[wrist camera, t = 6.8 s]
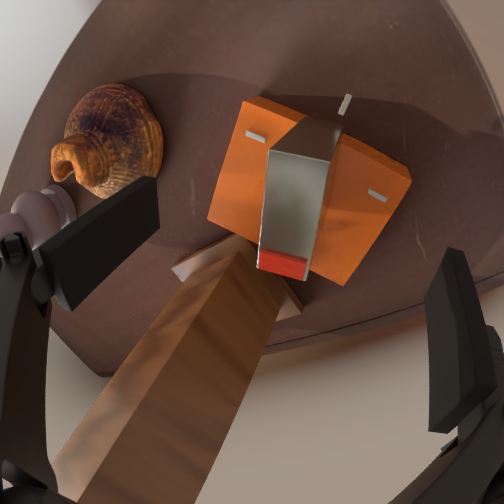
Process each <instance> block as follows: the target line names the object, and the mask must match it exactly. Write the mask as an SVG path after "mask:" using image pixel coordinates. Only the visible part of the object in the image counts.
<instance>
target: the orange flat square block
mask: <svg viewBox="0 0 504 504" xmlns="http://www.w3.org/2000/svg"><path fill="white" fill-rule="evenodd" d="M351 98H352V95H350V94H346V96H345V99H344V101H343V103H342V105H341V107H340V110H339V112H338V113H339V114H341V115H344V113H345V111H346V109H347V107H348V104H349V102H350V100H351ZM304 117H309V116H306V115H304V114H302V113H300V112H297V111H295V110H293V109H290V108H288V107H286V106H283V105H281V104H278V103H276V102H273V101H271V100H268V99H266V98H263V97H261V96H256V97H253V98H250V99H247V100H244V101H243V104H242V107H241V110H240V113H239V116H238V119H237V122H236V126H235V129H234V132H233V135H232V138H231V141H230V144H229V147H228V150H227V154H226V157H225V160H224V163H223V166H222V170H221V173H220V176H219V179H218V183H217V186H216V189H215V193H214V196H213V200H212V203H211V206H210V210H209V213H208V217H207V220H209V221H212V222H214V223H216V224H218V225H220V226H222V227H224V228H226V229H228V230H230V231H232V232H234V233H236V234H238V235H240V236H242V237H244V238H246V239H248V240H250V241H252V242H254V243H257V244H259V238H260V228H261V218H262V208H263V198H264V188H265V178H266V168H267V157H268V150H269V149H270V148H271V147H272V146H273V145H274V144H275V143H276V142H277V141H278V140H279V139H281V138H282V137H283V136H284V135H285V134H286V133H287V132H288V131H289V130H290V129H291V128H293V127H294V126H295V125H296V124H297V123H298V122H299V121H300V120H301V119H303V118H304ZM411 183H412V180H411V177H410V174H409V171H408V168H407V167H406V166H404V165H402V164H400V163H399V162H397V161H395V160H394V159H392V158H390V157H388V156H386V155H385V154H383V153H381V152H379V151H377V150H376V149H374V148H372V147H370V146H368V145H366V144H364V143H362V142H360V141H359V140H357V139H355V138H353V137H351V136H349V135H347V134H345V133H343V135H342V140H341V146H340V152H339V157H338V162H337V168H336V173H335V178H334V183H333V188H332V193H331V198H330V203H329V207H328V211H327V215H326V218H325V221H324V225H323V228H322V232H321V235H320V238H319V241H318V245H317V248H316V251H315V254H314V258H313V261H312V264H311V267H310V270H311V271H313V272H315V273H317V274H319V275H321V276H323V277H325V278H327V279H329V280H331V281H333V282H335V283H337V284H339V285H341V286H344V284H345V283H346V282H347V280H348V279H349V278H350V276H351V275H352V273H353V272H354V271H355V269H356V268H357V266H358V265H359V263H360V262H361V260H362V259H363V258H364V256H365V255H366V253H367V252H368V250H369V249H370V247H371V246H372V244H373V243H374V241H375V240H376V238H377V237H378V235H379V234H380V232H381V231H382V229H383V228H384V226H385V225H386V223H387V222H388V220H389V219H390V217H391V216H392V214H393V212H394V211H395V209H396V208H397V206H398V204H399V203H400V201H401V200H402V198H403V196H404V195H405V193H406V192H407V190H408V188H409V187H410V185H411Z"/></svg>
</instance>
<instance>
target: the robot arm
mask: <svg viewBox="0 0 504 504" xmlns="http://www.w3.org/2000/svg"><path fill="white" fill-rule="evenodd" d="M159 228H160V221H159V210H158V198H157V184H156V178H155V177H150V176H144V175H143V176H141V177H140V178H138V179H137V180H135V181H133V182H132V183H130V184H129V185H127V186H125V187H124V188H122V189H121V190H119V191H118V192H116V193H114V194H113V195H111V196H110V197H108V198H107V199H105V200H104V201H102V202H101V203H99V204H98V205H96V206H95V207H93V208H92V209H91V210H89V211H88V212H86V213H85V214H83V215H82V216H80V217H79V218H78V219H76V220H74V221H71V222H70V223H69V224H67V225H66V226H64V227H63V229H60V230H59V231H58V232H56V234H54V235H52V236H51V237H50V238H48V239H47V240H46V241H44V242H43V243H42V244H40V245H39V246H38V247H37V248H35V249H34V250H33V251H32V250H31V248H30V245H29V242H28V238H27V235H26V233H25V232H24V231H21V230H18V231H13V232H10V233H8V234H6V235H4V236H3V237H2V238H1V239H0V251H1V254H2V256H3V257H0V504H79V503H77V502H75V501H73V500H71V499H69V498H67V497H65V496H63V495H61V494H59V492H58V485H57V479H56V475H55V473H54V470H53V468H52V466H51V465H50V463H49V460H48V456H47V448H46V425H45V424H46V423H45V386H46V363H47V348H48V337H49V327H50V318H51V311H52V302H51V300H50V298H51V297H52V296H53V295H54V294H55V296H56V298H57V301H58V303H59V305H60V306H62V307H63V308H65V309H67V310H69V311H71V312H72V311H73V310H74V309H75V308H76V307H77V306H78V305H79V304H80V303H81V302H82V301H83V300H84V299H85V298H86V297H87V296H88V295H89V294H90V293H91V292H92V291H93V290H94V289H95V288H96V287H97V286H98V285H99V284H100V283H101V282H102V281H103V280H104V279H105V278H106V277H107V276H108V275H110V274H111V273H112V272H113V271H114V270H115V269H116V268H117V267H118V266H119V265H120V264H121V263H122V262H123V261H124V260H125V259H126V258H127V257H129V256H130V255H131V254H132V253H133V252H134V251H135V250H136V249H137V248H138V247H139V246H141V245H142V244H143V243H144V242H145V241H146V240H147V239H148V238H149V237H150V236H152V235H153V234H154V233H155V232H156V231H157V230H158V229H159ZM424 299H425V309H426V320H427V332H428V349H429V387H430V389H429V390H430V392H429V428H428V431H430V432H437V433H445V434H448V433H449V432H450V431H451V430H453V429H454V428H455V427H456V426H457V425H458V436H456V437H455V438H454V439H453V440H451V441H450V442H449V443H448V444H446V445H445V446H444V447H442V448H441V450H442V452H441V453H440V454H439V455H438V456H437V457H436V459H435V460H434V461H433V462H432V463H431V464H430V465H429V466H428V467H427V468H426V469H425V470H424V471H423V472H422V473H421V474H420V475H419V476H418V477H417V478H416V479H415V480H414V481H413V482H412V483H411V484H409V485H408V486H407V487H406V488H405V489H404V490H403V491H402V492H401V493H400V494H398V495H397V496H396V497H395V498H394V499H393V500H392V501H390V502H389V503H388V504H504V353H503V352H502V351H503V348H502V344H501V340H500V337H499V336H498V334H497V332H496V331H495V329H494V327H493V326H489V325H485V321H484V317H483V313H482V310H481V306H480V302H479V299H478V295H477V292H476V288H475V285H474V282H473V279H472V276H471V272H470V269H469V266H468V263H467V261H466V258H465V255H464V252H463V251H460V250H457V249H454V248H450V247H448V248H447V250H446V252H445V255H444V257H443V259H442V262H441V264H440V266H439V268H438V270H437V272H436V275H435V277H434V279H433V281H432V283H431V285H430V287H429V289H428V291H427V293H426V295H425V297H424ZM2 478H3V479H5V480H7V481H9V482H10V483H11V484H12V485H13V487H11V488H6V489H3V484H2Z"/></svg>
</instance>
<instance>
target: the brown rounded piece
mask: <svg viewBox="0 0 504 504" xmlns="http://www.w3.org/2000/svg"><path fill="white" fill-rule="evenodd" d="M163 143H164V142H163V134H162V130H161V126H160V123H159V122H158V120H157V119H156V118H155V116H154V115H153V112H152V110H151V109H150V107H149V106H148V104H147V102H146V100H145V98H144V97H143V96H142V95H141V94H139V93H138V92H137V91H135V90H134V89H132V88H130V87H127V86H124V85H121V84H105V85H102V86H99V87H97V88H95V89H93V90H92V91H90V92H89V93H87V94H86V95H85V96H84V97H83V98H82V99H81V100H80V101H79V102H78V103H77V104H76V106H75V107H74V109H73V110H72V112H71V114H70V116H69V118H68V121H67V124H66V128H65V134H64V139H63V140H62V141H60V142H59V143H57V144H56V145H55V146H54V147H53V149H52V158H51V172H52V175H53V177H54V179H55V181H57V182H60V181H63V180H65V179H66V178H67V177H68V176H69V175H70V174H71V173H73V172H74V174H75V176H76V180H77V181H78V182H79V183H80V184H82V185H83V186H84V187H85V188H86V189H88V190H89V191H90V192H92V193H93V194H94V195H96V196H98V197H100V198H104V199H107V198H108V197H110V196H111V195H113V194H114V193H116V192H118V191H119V190H121V189H122V188H124V187H125V186H127V185H129V184H130V183H132V182H133V181H135V180H137V179H138V178H140V177H141V176H143V175H144V176H150V177H155V178H157V176H158V172H159V170H160V167H161V164H162V157H163Z"/></svg>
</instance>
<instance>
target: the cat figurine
mask: <svg viewBox="0 0 504 504" xmlns="http://www.w3.org/2000/svg"><path fill="white" fill-rule="evenodd" d="M76 217H77V214H76V209H75V206H74V203H73V201H72V199H71V198H70V196H69V194H68V193H67V192H66V191H65V190H64V189H63V188H62V187H60V186H59V185H55V184H53V185H50V186H48V187H47V188H45V189H43V190H42V192H38V191H27V192H25V193H23V194H21V195H20V196H18V198H17V199H16V200H15V202H14V204H13V206H12V209H11V213H4V214H1V215H0V239H1V238H2V237H3V236H4V235H6V234H8V233H10V232H13V231H18V230H21V231H24V232H25V233H26V235H27V238H28V242H29V245H30V248H31V250H32V251H33V250H34V249H35V248H37V247H38V246H39V245H40V244H42V243H43V242H44V241H46V240H47V239H48V238H50V237H51V236H52V235H54V234H56V232H58V231H59V230H60V229H63V227H64V226H66V225H67V224H69V223H70V222H71V221H74V220H76ZM0 257H3V256H2V254H1V251H0Z"/></svg>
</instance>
